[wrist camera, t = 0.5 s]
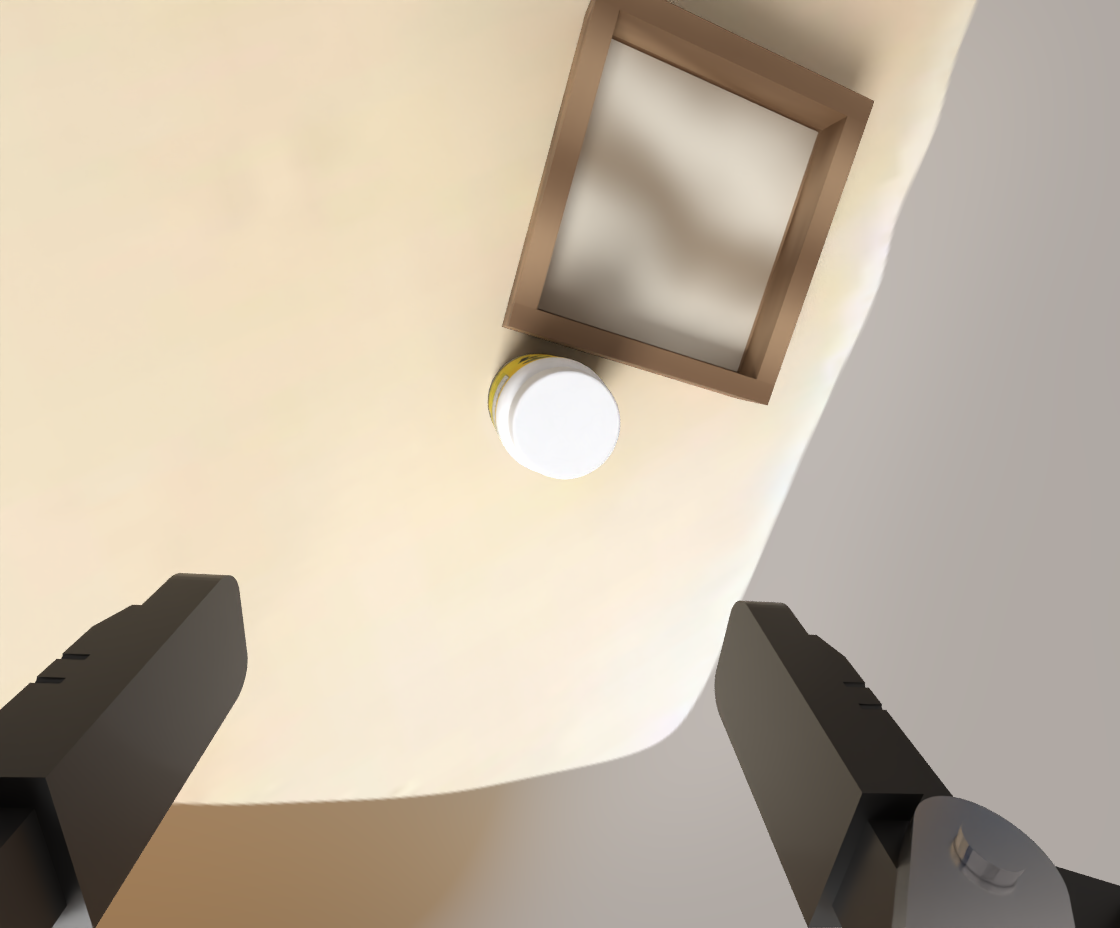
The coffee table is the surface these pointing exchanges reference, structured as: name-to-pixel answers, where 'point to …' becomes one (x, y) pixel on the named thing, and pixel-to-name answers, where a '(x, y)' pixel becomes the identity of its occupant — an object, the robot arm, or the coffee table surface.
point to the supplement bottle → (554, 415)
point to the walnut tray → (683, 199)
